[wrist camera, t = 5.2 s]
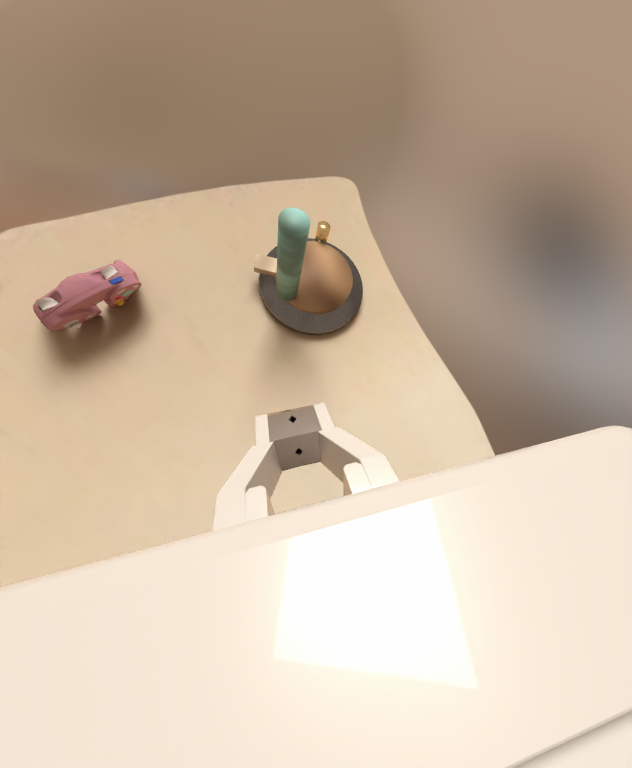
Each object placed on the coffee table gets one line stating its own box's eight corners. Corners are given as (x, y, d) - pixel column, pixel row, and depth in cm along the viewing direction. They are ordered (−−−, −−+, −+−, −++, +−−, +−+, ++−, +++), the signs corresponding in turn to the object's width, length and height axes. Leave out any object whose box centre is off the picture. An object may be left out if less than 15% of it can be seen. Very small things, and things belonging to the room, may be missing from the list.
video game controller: (76, 340, 28) (44, 339, 22) (39, 304, 26) (-7, 293, 20) (154, 295, 31) (145, 284, 25) (125, 261, 29) (108, 239, 23)
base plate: (350, 347, 32) (354, 342, 31) (246, 317, 31) (245, 311, 29) (367, 261, 36) (371, 253, 34) (274, 230, 34) (275, 221, 33)
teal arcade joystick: (315, 228, 33) (335, 133, 23) (365, 289, 33) (409, 220, 22) (247, 263, 30) (235, 172, 20) (301, 332, 30) (318, 275, 19)
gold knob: (323, 250, 34) (328, 233, 31) (312, 247, 34) (316, 229, 31) (326, 241, 34) (331, 223, 31) (315, 238, 34) (319, 219, 31)
